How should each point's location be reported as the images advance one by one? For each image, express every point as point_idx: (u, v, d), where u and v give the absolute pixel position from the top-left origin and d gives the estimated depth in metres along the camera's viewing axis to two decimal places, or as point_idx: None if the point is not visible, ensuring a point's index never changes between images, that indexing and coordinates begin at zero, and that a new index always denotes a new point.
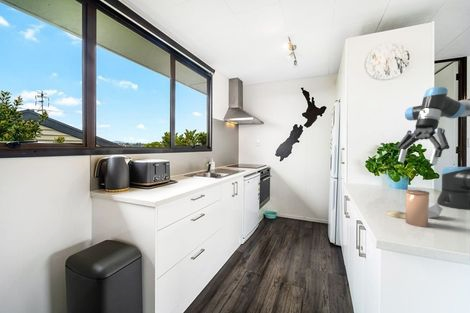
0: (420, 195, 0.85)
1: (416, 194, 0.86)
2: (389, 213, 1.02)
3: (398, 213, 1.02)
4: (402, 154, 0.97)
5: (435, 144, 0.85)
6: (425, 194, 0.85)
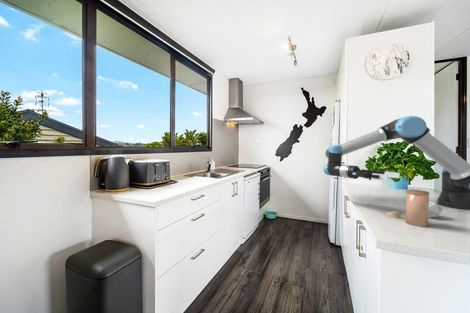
0: (420, 195, 0.85)
1: (416, 194, 0.86)
2: (389, 213, 1.02)
3: (398, 213, 1.02)
4: (390, 175, 1.03)
5: (368, 177, 1.00)
6: (425, 194, 0.85)
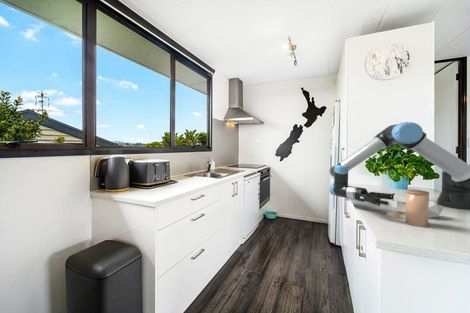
0: (420, 195, 0.85)
1: (416, 194, 0.86)
2: (389, 213, 1.02)
3: (398, 213, 1.02)
4: (399, 200, 0.99)
5: None
6: (425, 194, 0.85)
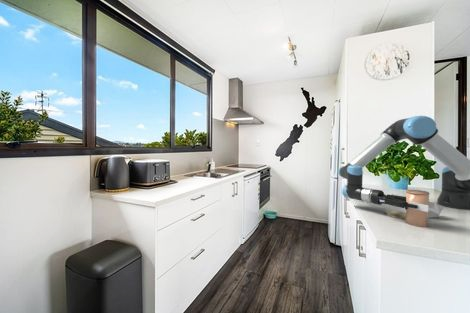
0: (420, 195, 0.85)
1: (416, 194, 0.86)
2: (389, 213, 1.02)
3: (398, 213, 1.02)
4: None
5: None
6: (425, 194, 0.85)
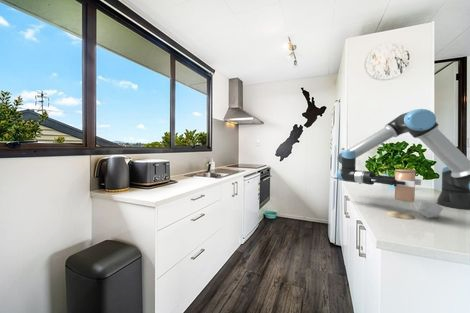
0: (407, 172, 0.93)
1: (404, 172, 0.94)
2: (389, 213, 1.02)
3: (398, 213, 1.02)
4: None
5: None
6: (412, 171, 0.93)
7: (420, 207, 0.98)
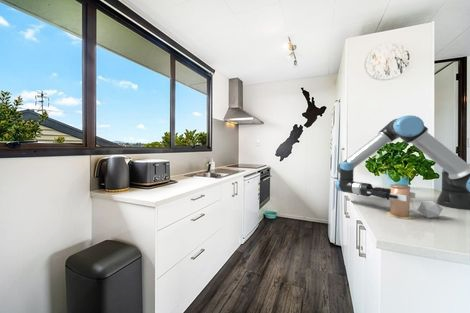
0: (402, 189, 0.96)
1: (398, 188, 0.97)
2: (389, 213, 1.02)
3: None
4: None
5: None
6: (406, 188, 0.96)
7: (420, 207, 0.98)
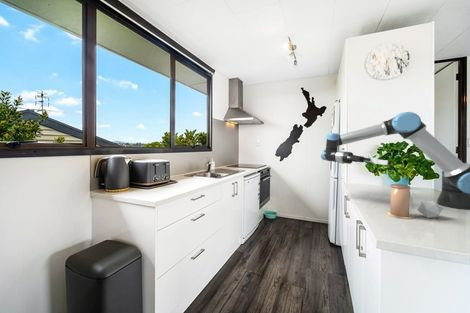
0: (402, 189, 0.96)
1: (398, 188, 0.97)
2: (389, 213, 1.02)
3: None
4: (379, 162, 1.16)
5: None
6: (406, 188, 0.96)
7: (420, 207, 0.98)
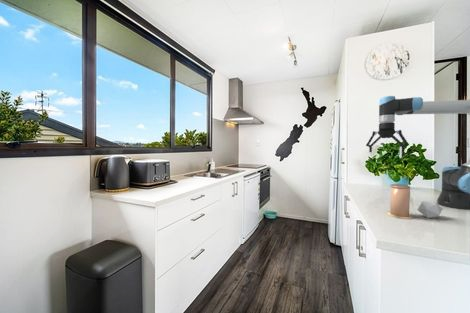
0: (402, 189, 0.96)
1: (398, 188, 0.97)
2: (389, 213, 1.02)
3: None
4: None
5: (400, 143, 1.13)
6: (406, 188, 0.96)
7: (420, 207, 0.98)
